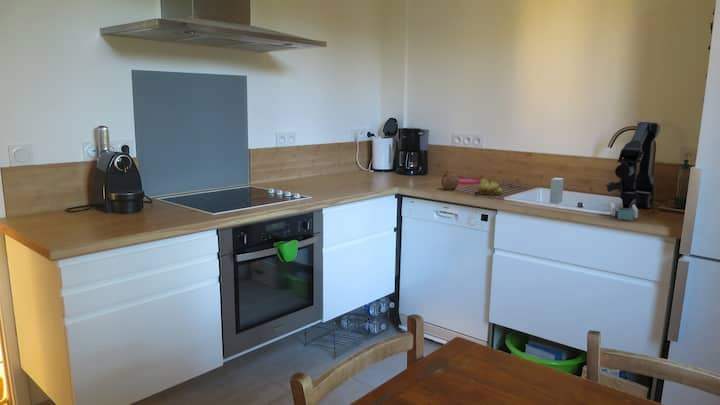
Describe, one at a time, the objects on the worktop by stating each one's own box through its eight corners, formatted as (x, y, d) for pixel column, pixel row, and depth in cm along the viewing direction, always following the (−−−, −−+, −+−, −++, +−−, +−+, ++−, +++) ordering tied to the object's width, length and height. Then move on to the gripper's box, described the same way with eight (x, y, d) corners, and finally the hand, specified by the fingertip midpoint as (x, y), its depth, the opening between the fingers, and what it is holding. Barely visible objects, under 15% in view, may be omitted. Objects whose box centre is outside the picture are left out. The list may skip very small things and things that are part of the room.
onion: (443, 195, 284) (435, 179, 282) (448, 188, 292) (441, 172, 289) (458, 191, 279) (451, 174, 276) (463, 184, 286) (456, 167, 284)
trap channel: (610, 209, 239) (611, 202, 238) (634, 211, 235) (635, 204, 235) (611, 216, 225) (612, 209, 225) (637, 218, 222) (638, 211, 221)
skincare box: (553, 201, 256) (555, 177, 254) (562, 202, 254) (564, 178, 251) (548, 203, 252) (551, 178, 249) (557, 204, 249) (560, 179, 247)
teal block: (617, 216, 225) (618, 207, 224) (631, 217, 223) (632, 208, 222) (618, 219, 219) (619, 210, 218) (632, 220, 217) (633, 211, 216)
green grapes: (504, 194, 273) (505, 179, 272) (498, 197, 265) (499, 181, 264) (480, 191, 280) (481, 177, 279) (474, 194, 272) (475, 179, 271)
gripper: (607, 171, 233) (603, 205, 236) (608, 177, 216) (604, 213, 220) (635, 173, 229) (630, 208, 232) (638, 179, 212) (634, 216, 215)
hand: (624, 211), depth 225 cm, fingers closed
